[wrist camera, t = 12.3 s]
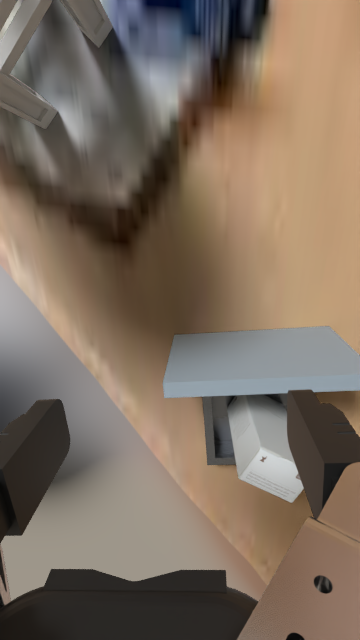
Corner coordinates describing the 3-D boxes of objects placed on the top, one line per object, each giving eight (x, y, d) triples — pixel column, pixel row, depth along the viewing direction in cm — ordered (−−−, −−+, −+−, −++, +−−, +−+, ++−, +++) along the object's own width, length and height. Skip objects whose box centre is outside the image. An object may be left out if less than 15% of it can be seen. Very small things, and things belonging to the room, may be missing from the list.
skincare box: (225, 408, 43) (233, 481, 32) (243, 381, 42) (258, 446, 30) (268, 429, 44) (290, 508, 32) (287, 402, 42) (317, 475, 31)
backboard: (328, 326, 40) (378, 373, 28) (328, 338, 40) (377, 389, 29) (174, 334, 41) (162, 382, 30) (175, 346, 42) (164, 398, 30)
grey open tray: (301, 339, 40) (312, 354, 36) (299, 441, 45) (308, 464, 41) (200, 345, 41) (199, 359, 37) (207, 443, 46) (207, 466, 42)
